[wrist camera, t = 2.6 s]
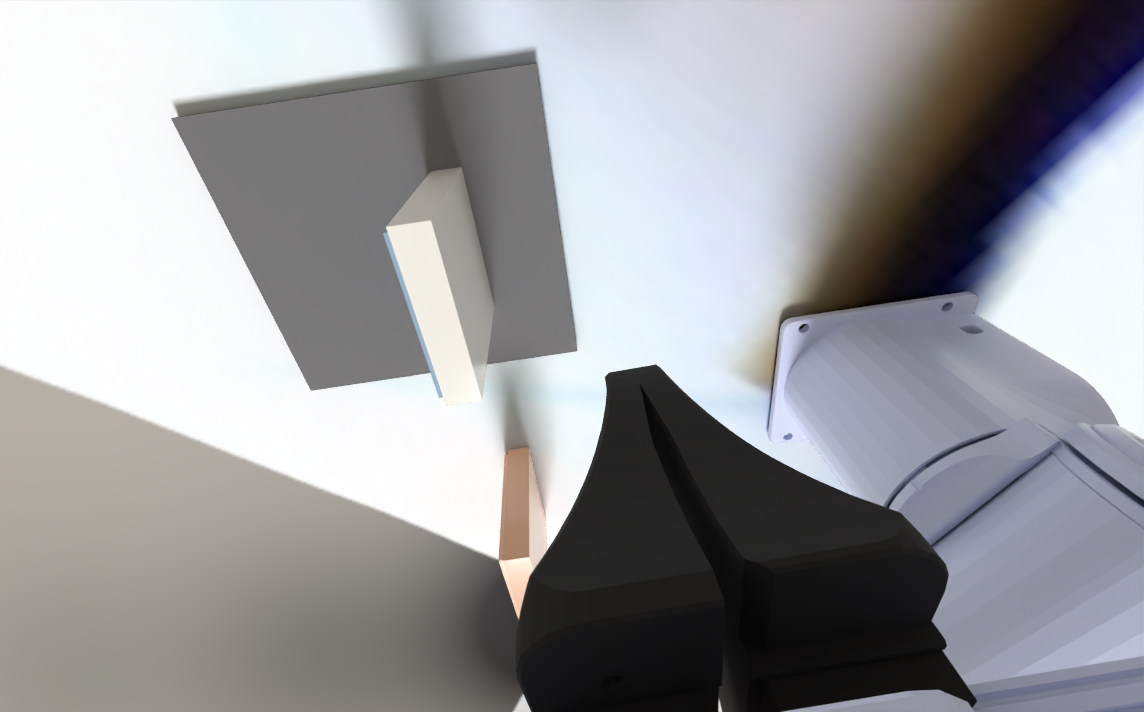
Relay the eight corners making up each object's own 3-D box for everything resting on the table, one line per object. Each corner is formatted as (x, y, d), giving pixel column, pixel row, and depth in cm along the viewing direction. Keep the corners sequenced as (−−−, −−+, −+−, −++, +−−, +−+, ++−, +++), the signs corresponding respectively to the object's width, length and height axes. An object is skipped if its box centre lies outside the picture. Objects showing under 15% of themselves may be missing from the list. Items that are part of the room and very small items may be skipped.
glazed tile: (461, 166, 19) (430, 220, 13) (494, 305, 22) (481, 400, 16) (425, 172, 19) (378, 227, 13) (463, 310, 22) (439, 406, 16)
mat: (535, 63, 18) (536, 63, 17) (576, 346, 24) (577, 351, 24) (178, 116, 18) (171, 118, 17) (314, 385, 24) (311, 390, 24)
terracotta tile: (529, 446, 27) (529, 557, 21) (545, 517, 30) (550, 631, 24) (504, 450, 27) (497, 561, 21) (523, 521, 30) (522, 635, 24)
